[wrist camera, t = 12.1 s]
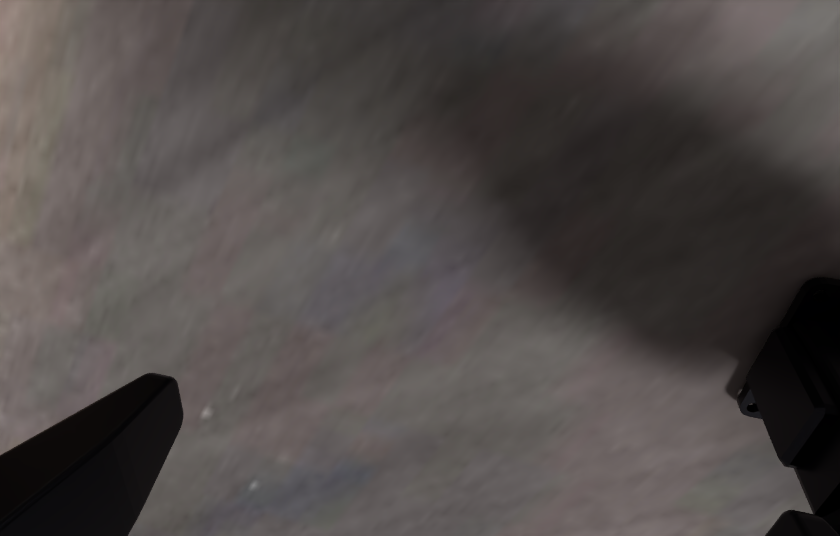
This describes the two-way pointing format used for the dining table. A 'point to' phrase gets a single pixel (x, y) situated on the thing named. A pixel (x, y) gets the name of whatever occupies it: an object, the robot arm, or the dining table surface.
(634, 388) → the dining table surface
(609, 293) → the dining table surface
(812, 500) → the robot arm
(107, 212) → the dining table surface
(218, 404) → the dining table surface
